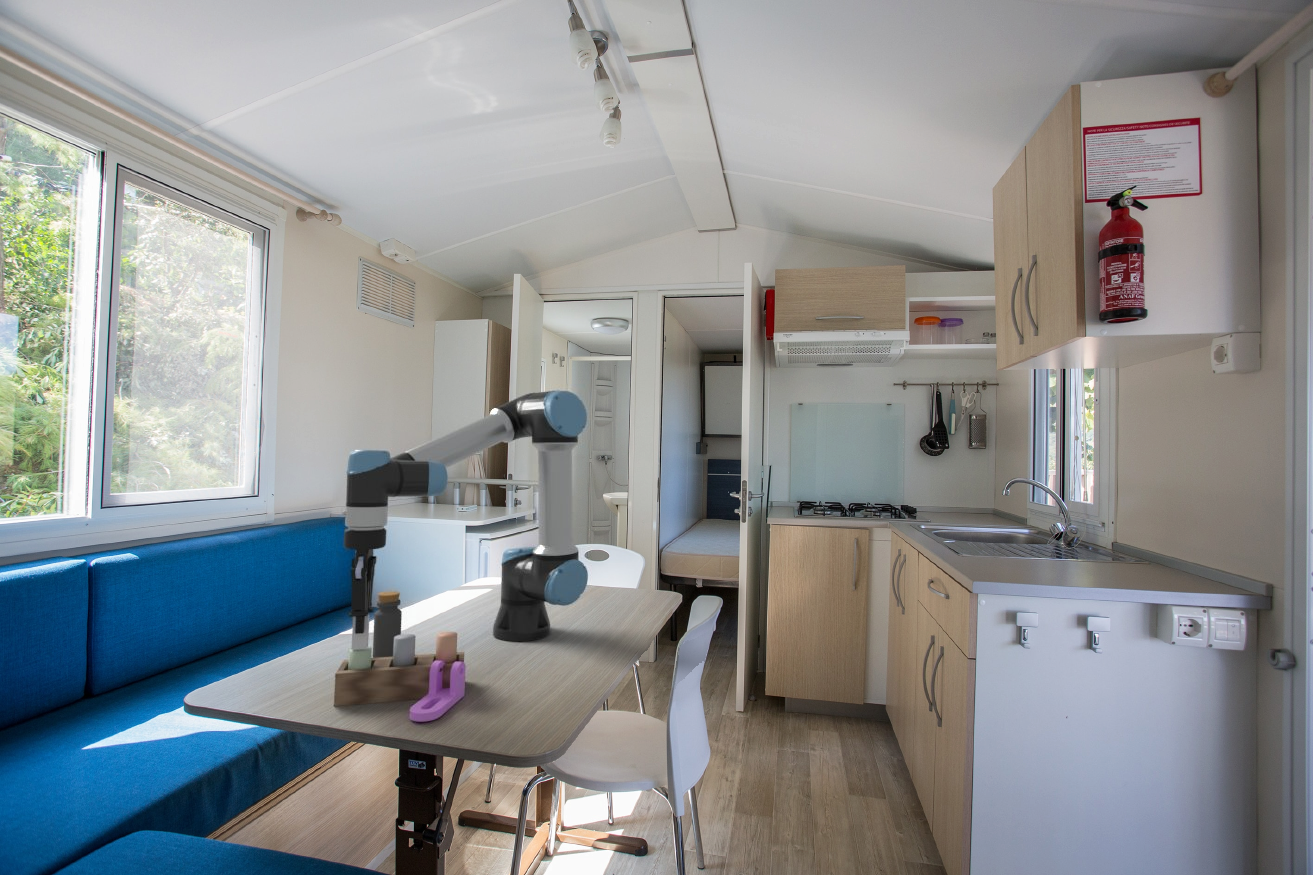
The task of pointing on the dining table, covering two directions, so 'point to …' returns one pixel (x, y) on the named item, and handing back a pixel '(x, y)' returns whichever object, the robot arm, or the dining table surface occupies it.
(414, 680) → the walnut rack
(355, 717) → the dining table surface
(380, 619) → the bottle
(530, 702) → the dining table surface
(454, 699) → the bracket
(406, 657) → the grey rounded cylinder
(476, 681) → the dining table surface
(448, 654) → the brown egg
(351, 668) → the green rounded cylinder
